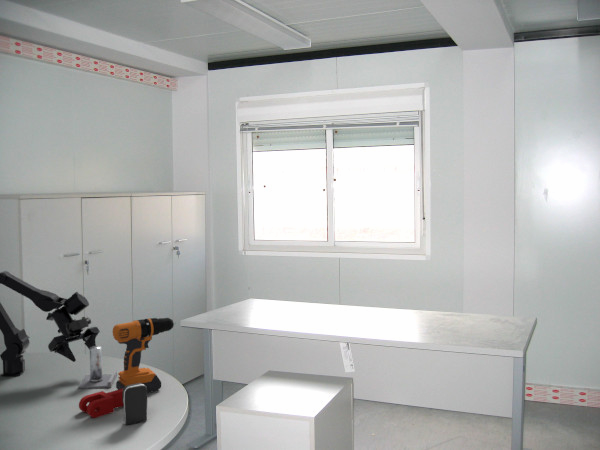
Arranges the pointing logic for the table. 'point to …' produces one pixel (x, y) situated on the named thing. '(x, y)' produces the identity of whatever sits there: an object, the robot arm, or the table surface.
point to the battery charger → (134, 403)
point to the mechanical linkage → (101, 403)
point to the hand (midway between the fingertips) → (85, 357)
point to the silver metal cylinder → (96, 364)
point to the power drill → (139, 350)
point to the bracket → (105, 383)
